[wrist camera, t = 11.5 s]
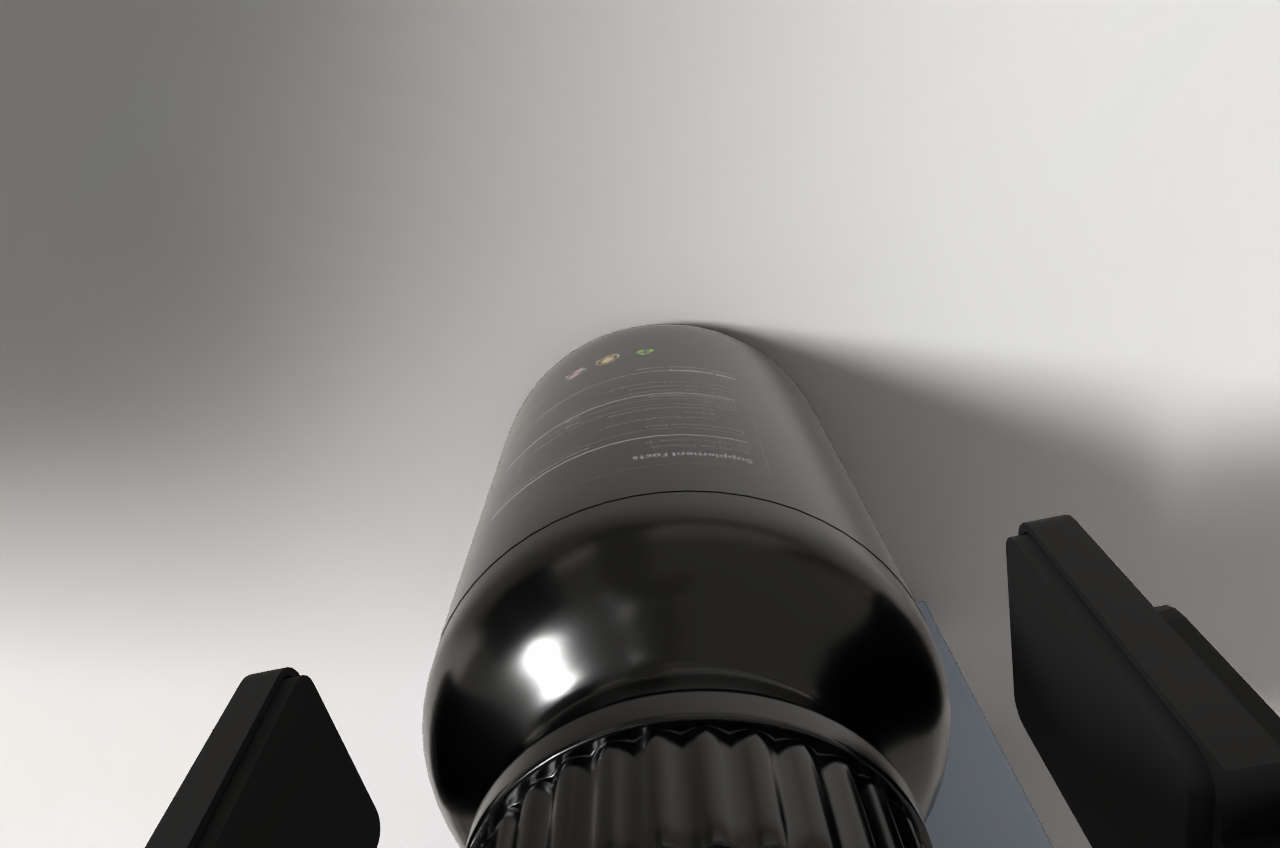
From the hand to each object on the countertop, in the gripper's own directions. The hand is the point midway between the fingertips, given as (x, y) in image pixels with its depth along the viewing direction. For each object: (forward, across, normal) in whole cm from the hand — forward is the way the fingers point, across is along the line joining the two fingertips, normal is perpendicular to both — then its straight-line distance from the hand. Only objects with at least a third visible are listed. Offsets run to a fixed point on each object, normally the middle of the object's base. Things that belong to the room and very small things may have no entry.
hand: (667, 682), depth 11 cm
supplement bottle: (+8, 0, +1) cm, 8 cm away
